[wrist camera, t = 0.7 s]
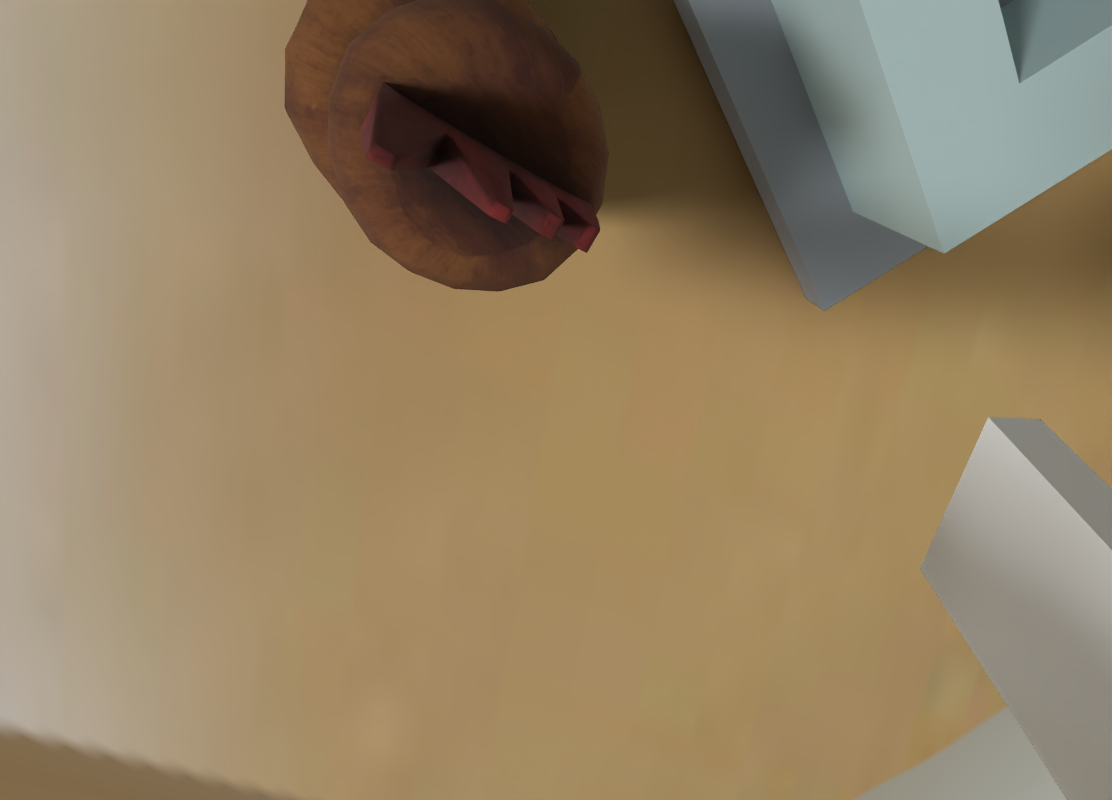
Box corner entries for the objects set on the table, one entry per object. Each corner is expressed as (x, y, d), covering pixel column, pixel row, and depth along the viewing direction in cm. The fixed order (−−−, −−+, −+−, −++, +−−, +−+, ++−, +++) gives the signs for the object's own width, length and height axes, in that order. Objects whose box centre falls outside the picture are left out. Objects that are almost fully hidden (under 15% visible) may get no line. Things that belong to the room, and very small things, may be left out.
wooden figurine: (250, 55, 22) (100, 173, 8) (421, -104, 21) (548, -240, 8) (428, 250, 25) (520, 557, 12) (582, 119, 24) (864, 287, 11)
